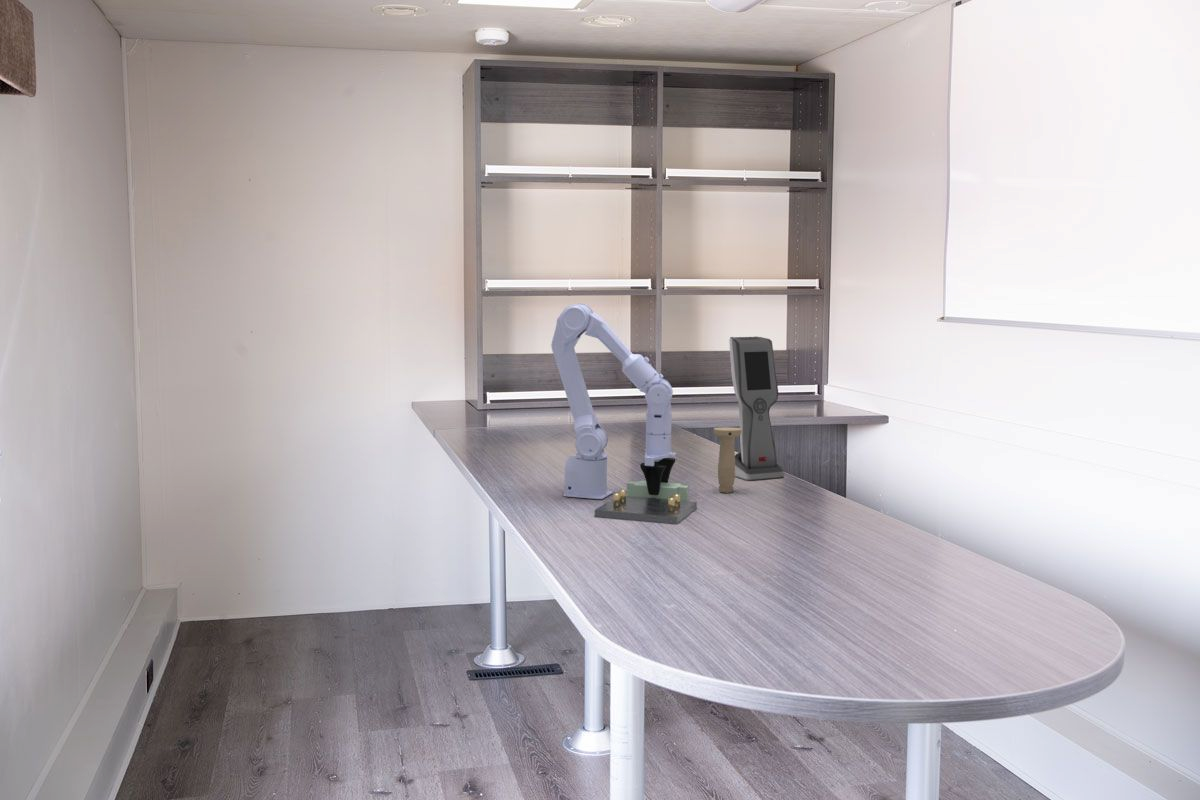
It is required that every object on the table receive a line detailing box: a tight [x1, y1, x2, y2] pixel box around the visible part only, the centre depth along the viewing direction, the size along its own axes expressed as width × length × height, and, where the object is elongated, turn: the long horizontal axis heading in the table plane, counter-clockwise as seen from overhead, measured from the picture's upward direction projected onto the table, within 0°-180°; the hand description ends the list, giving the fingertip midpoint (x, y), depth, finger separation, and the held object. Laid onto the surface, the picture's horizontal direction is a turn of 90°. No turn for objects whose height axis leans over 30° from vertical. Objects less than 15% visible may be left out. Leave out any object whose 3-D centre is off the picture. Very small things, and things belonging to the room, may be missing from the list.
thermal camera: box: [728, 336, 785, 481], centre depth 278 cm, size 12×13×35 cm
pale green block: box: [626, 480, 690, 501], centre depth 250 cm, size 14×6×3 cm, turn 71°
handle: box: [713, 426, 741, 494], centre depth 258 cm, size 5×6×15 cm
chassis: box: [594, 489, 698, 525], centre depth 236 cm, size 18×16×4 cm
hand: (657, 492), depth 250 cm, fingers closed on pale green block, 6 cm apart
